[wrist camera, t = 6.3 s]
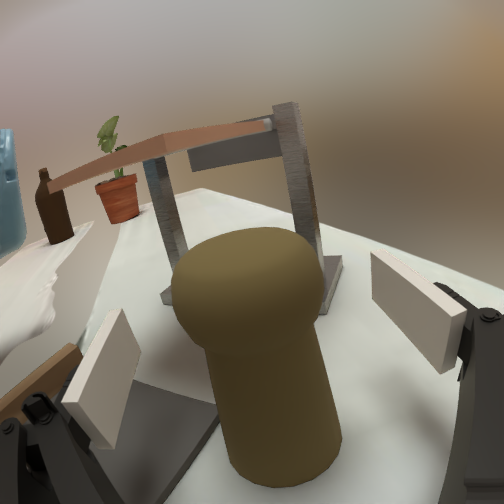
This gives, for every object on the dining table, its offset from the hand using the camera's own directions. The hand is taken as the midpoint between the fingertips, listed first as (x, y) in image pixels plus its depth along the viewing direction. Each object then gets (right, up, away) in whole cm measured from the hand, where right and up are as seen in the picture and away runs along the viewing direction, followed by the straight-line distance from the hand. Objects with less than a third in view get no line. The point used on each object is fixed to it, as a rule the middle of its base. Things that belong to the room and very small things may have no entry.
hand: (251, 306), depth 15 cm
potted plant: (-41, +13, +79) cm, 90 cm away
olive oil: (-63, +6, +74) cm, 98 cm away
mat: (-10, -10, -1) cm, 14 cm away
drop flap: (-4, +8, +9) cm, 13 cm away
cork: (+2, -7, -1) cm, 8 cm away
